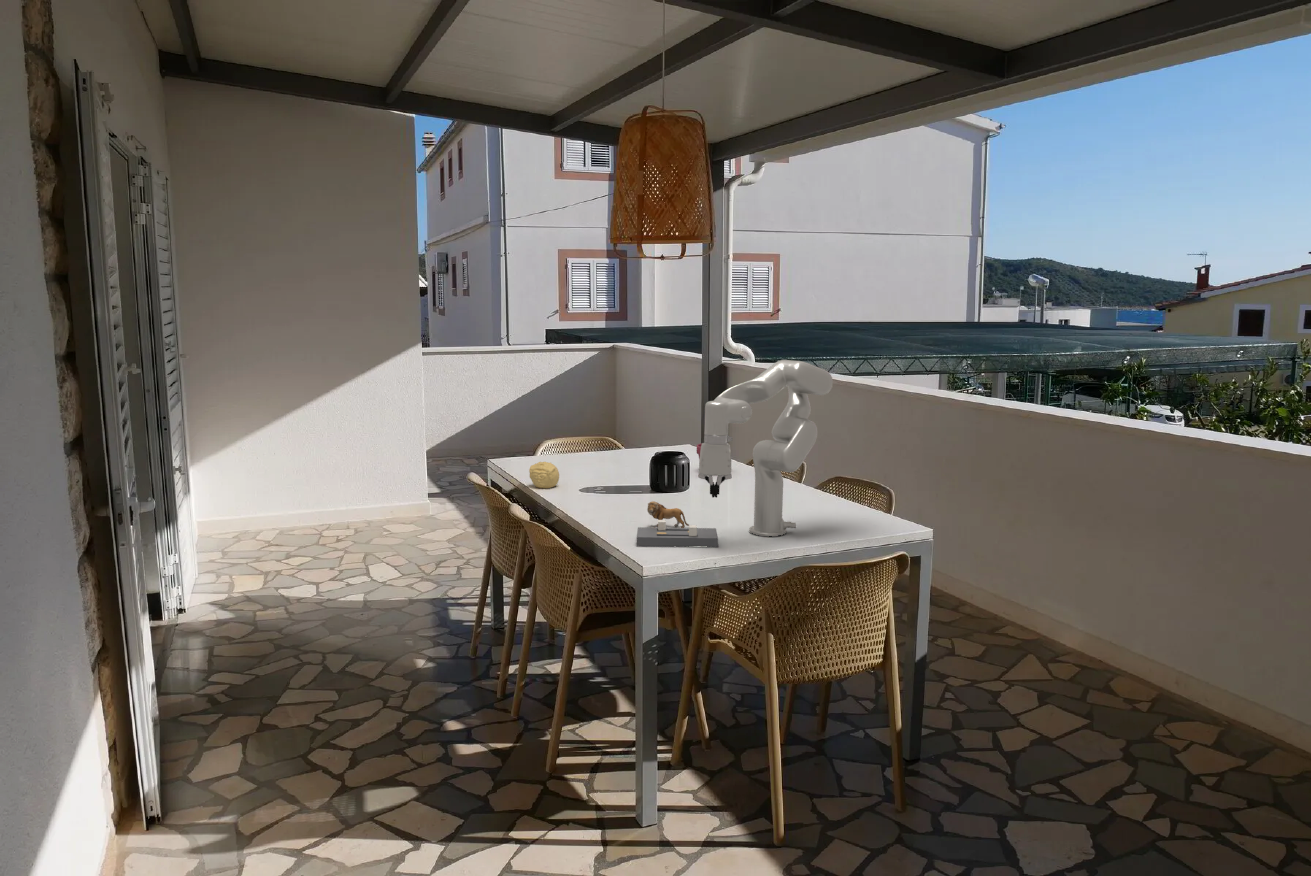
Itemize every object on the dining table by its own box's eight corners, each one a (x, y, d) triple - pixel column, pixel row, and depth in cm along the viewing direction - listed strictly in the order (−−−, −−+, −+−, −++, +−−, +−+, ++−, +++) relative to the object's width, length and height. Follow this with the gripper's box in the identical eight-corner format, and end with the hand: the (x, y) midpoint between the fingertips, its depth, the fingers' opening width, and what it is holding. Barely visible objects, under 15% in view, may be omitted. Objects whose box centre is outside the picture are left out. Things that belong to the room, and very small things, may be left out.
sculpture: (525, 488, 391) (525, 462, 389) (539, 483, 402) (539, 458, 400) (550, 490, 387) (550, 464, 385) (563, 485, 398) (563, 460, 397)
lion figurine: (647, 528, 327) (647, 503, 325) (647, 524, 332) (647, 499, 331) (689, 529, 327) (690, 503, 325) (689, 525, 332) (689, 500, 331)
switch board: (715, 537, 316) (715, 527, 315) (717, 547, 303) (718, 537, 303) (637, 536, 316) (637, 527, 316) (636, 546, 303) (636, 536, 303)
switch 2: (696, 536, 307) (696, 525, 307) (696, 538, 304) (696, 527, 304) (688, 536, 307) (688, 525, 307) (688, 538, 304) (689, 527, 304)
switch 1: (665, 530, 314) (665, 519, 314) (665, 533, 311) (665, 522, 311) (658, 530, 314) (658, 519, 314) (657, 533, 311) (658, 522, 311)
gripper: (738, 438, 304) (736, 494, 307) (692, 437, 305) (690, 493, 307) (740, 442, 297) (738, 499, 300) (692, 441, 297) (691, 498, 300)
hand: (714, 496), depth 303 cm, fingers closed
